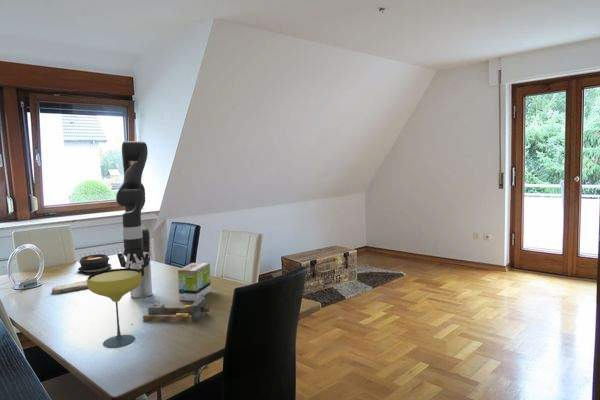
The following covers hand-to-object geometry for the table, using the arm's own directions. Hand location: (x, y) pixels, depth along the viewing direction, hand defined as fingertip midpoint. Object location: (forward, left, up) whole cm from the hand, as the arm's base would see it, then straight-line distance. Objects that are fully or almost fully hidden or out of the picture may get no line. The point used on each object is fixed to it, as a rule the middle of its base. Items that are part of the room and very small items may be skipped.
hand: (135, 276), depth 177 cm
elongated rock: (-49, +42, -18) cm, 67 cm away
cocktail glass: (+5, -24, -18) cm, 30 cm away
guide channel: (+18, 0, -17) cm, 25 cm away
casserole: (-66, +75, -18) cm, 101 cm away
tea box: (+15, +28, -18) cm, 36 cm away
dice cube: (+8, 0, -18) cm, 19 cm away
